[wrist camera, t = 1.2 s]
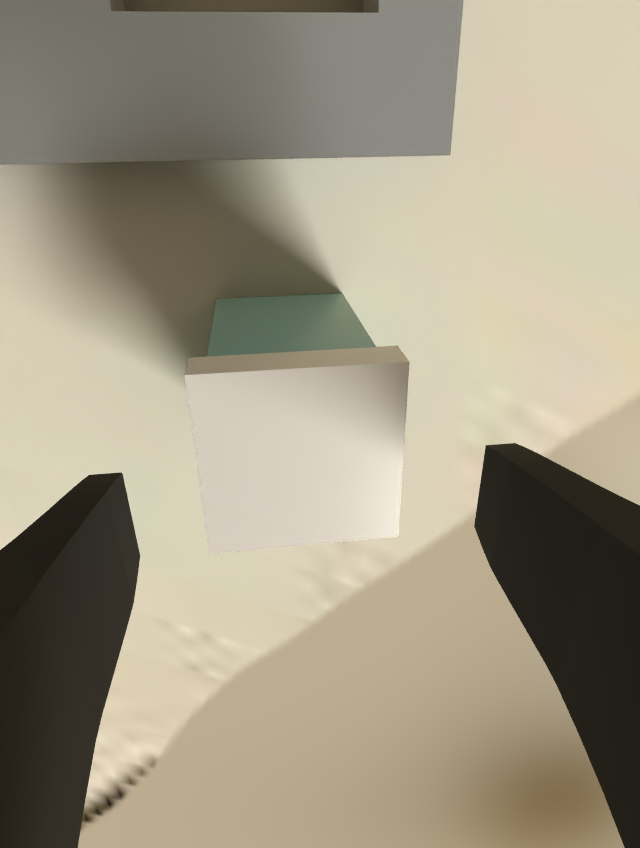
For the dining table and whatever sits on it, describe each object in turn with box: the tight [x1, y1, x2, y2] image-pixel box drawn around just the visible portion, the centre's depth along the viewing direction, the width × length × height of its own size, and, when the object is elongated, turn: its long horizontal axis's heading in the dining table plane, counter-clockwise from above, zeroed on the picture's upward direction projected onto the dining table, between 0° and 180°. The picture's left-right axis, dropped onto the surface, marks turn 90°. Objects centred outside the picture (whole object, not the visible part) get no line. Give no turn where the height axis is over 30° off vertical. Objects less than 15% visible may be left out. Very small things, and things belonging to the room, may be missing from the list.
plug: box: [185, 293, 409, 554], centre depth 15 cm, size 5×5×7 cm
